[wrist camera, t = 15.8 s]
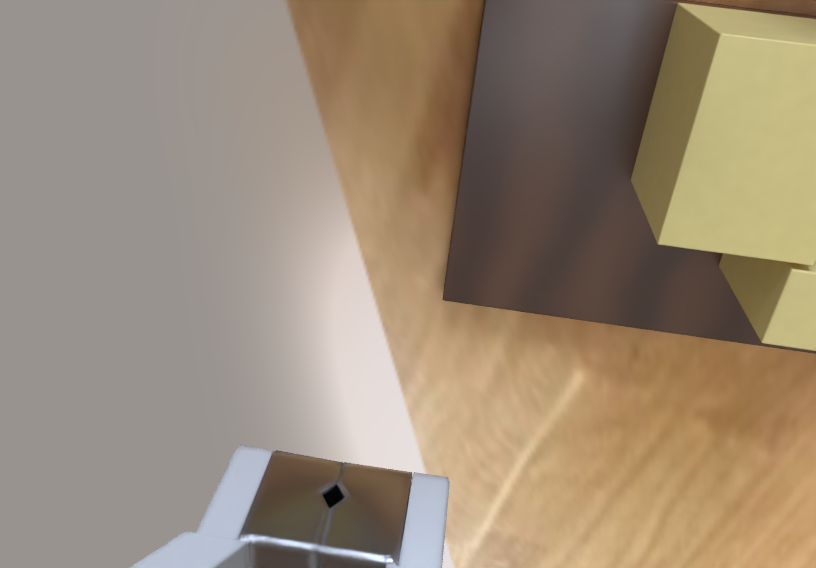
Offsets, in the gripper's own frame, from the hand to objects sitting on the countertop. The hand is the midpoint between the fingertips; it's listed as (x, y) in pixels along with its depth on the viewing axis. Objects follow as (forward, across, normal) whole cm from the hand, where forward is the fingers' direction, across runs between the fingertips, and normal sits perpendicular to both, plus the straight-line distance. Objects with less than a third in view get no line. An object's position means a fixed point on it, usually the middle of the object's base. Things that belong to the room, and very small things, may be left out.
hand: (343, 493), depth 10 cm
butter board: (+27, -12, +4) cm, 30 cm away
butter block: (+26, -12, 0) cm, 29 cm away
